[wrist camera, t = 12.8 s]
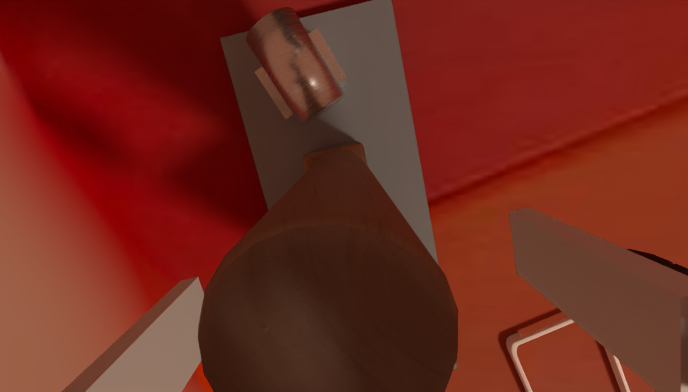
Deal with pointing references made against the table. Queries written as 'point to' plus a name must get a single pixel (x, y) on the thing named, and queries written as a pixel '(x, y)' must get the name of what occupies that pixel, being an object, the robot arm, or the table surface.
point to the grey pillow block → (295, 66)
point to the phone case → (517, 339)
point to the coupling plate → (340, 111)
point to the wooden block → (329, 293)
